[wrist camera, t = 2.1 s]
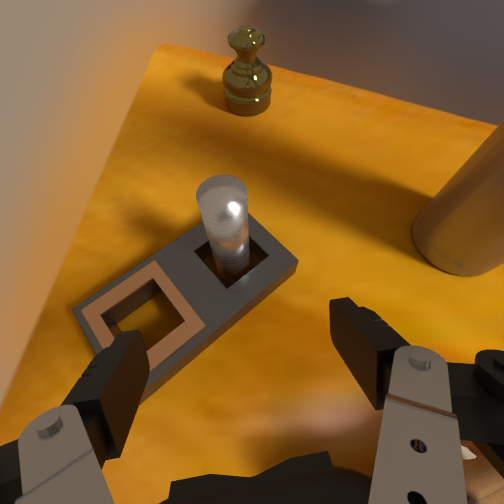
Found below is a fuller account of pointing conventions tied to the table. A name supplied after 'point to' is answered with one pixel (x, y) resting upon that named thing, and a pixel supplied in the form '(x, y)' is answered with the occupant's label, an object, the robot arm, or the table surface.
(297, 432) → the table surface
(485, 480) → the lion figurine
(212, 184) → the steel peg
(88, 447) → the robot arm
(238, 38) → the bronze chess pawn
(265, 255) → the block with square holes
